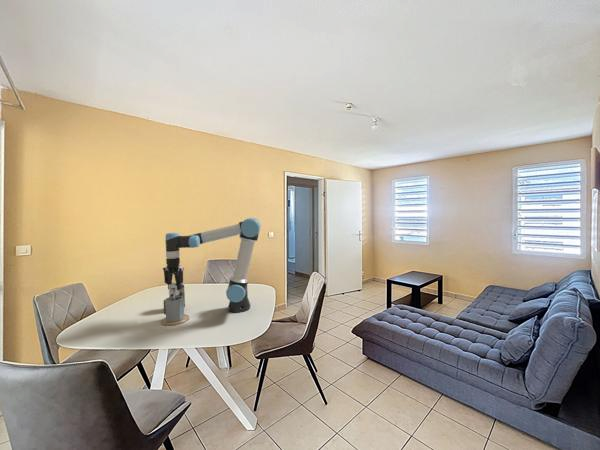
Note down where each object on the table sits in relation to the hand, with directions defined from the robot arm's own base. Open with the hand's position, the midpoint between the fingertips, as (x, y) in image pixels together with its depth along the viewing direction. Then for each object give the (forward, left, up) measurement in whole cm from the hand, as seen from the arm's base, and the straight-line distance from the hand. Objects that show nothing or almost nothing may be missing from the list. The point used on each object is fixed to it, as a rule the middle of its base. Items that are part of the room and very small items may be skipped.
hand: (174, 294), depth 157 cm
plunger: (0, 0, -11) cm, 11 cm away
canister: (+12, -17, -17) cm, 27 cm away
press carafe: (0, 0, -16) cm, 16 cm away
